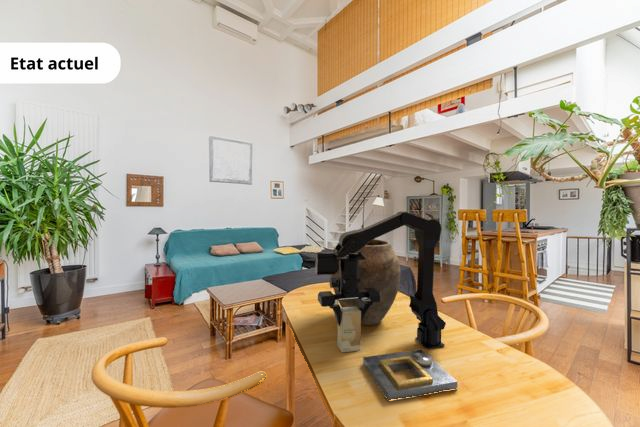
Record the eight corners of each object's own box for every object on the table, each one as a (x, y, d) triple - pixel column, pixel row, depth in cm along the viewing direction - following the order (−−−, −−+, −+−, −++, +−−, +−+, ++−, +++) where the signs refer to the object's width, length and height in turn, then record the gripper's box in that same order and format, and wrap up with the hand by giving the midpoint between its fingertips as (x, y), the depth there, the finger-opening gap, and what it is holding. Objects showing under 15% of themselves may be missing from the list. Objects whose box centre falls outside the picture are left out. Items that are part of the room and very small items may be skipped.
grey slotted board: (420, 356, 81) (421, 345, 81) (457, 389, 66) (457, 377, 66) (363, 364, 77) (363, 353, 77) (388, 402, 62) (388, 389, 62)
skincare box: (341, 353, 83) (341, 312, 82) (336, 346, 87) (336, 307, 86) (361, 350, 84) (361, 310, 84) (356, 343, 88) (356, 305, 88)
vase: (322, 328, 99) (321, 244, 98) (340, 303, 124) (340, 236, 122) (398, 340, 90) (398, 248, 89) (401, 310, 115) (402, 238, 114)
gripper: (367, 266, 95) (367, 311, 95) (314, 269, 90) (314, 316, 91) (382, 274, 84) (381, 325, 84) (322, 278, 79) (322, 332, 80)
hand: (349, 324), depth 85 cm, fingers closed on skincare box, 6 cm apart
